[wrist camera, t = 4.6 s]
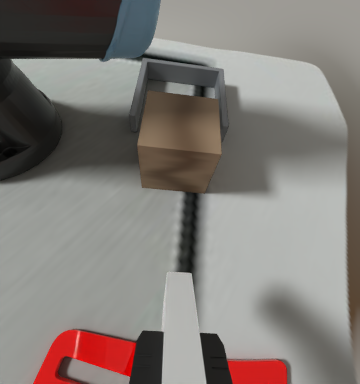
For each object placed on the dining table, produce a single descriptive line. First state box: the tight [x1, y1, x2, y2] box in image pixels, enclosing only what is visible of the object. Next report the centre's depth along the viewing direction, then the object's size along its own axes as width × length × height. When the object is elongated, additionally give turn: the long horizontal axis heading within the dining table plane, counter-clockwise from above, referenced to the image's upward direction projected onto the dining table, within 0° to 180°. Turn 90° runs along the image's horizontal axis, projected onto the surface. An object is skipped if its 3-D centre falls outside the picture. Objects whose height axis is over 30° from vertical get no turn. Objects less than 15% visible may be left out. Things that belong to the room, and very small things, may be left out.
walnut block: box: [137, 90, 222, 194], centre depth 25 cm, size 8×8×8 cm
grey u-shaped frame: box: [129, 58, 229, 142], centre depth 33 cm, size 14×14×3 cm
